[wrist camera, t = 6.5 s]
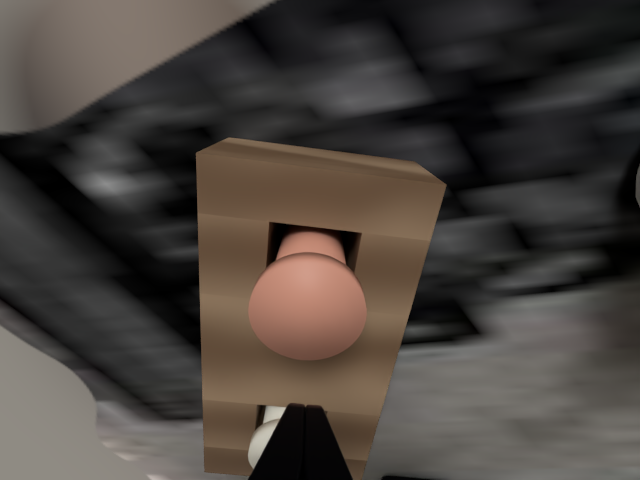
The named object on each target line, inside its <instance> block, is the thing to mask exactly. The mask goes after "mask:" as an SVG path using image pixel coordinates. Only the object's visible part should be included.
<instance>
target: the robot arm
mask: <svg viewBox="0 0 640 480" xmlns="http://www.w3.org/2000/svg"><path fill="white" fill-rule="evenodd" d="M248 480H353V478H352V476H351V473H350V471H349V468H348V466H347V464H346V461H345V459H344V456H343V454H342V452H341V449H340V447H339V444H338V442H337V440H336V437H335V435H334V432H333V430H332V428H331V425H330V423H329V420H328V418H327V416H326V413H325V411H324V409H323V407H322V406H320V405H310V404H308V405H306V407H305V405H304V404H299V403H289V404H288V405H287V407H286V409H285V411H284V412H283V414H282V416H281V418H280V420H279V422H278V424H277V426H276V428H275V430H274V431H273V433H272V435H271V437H270V439H269V441H268V443H267V445H266V447H265V448H264V450H263V452H262V454H261V456H260V458H259V460H258V462H257V464H256V466H255V467H254V469H253V471H252V473H251V475H250V477H249V479H248ZM382 480H428V479H416V478H404V477H393V476H386V477H383V478H382Z"/></svg>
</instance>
